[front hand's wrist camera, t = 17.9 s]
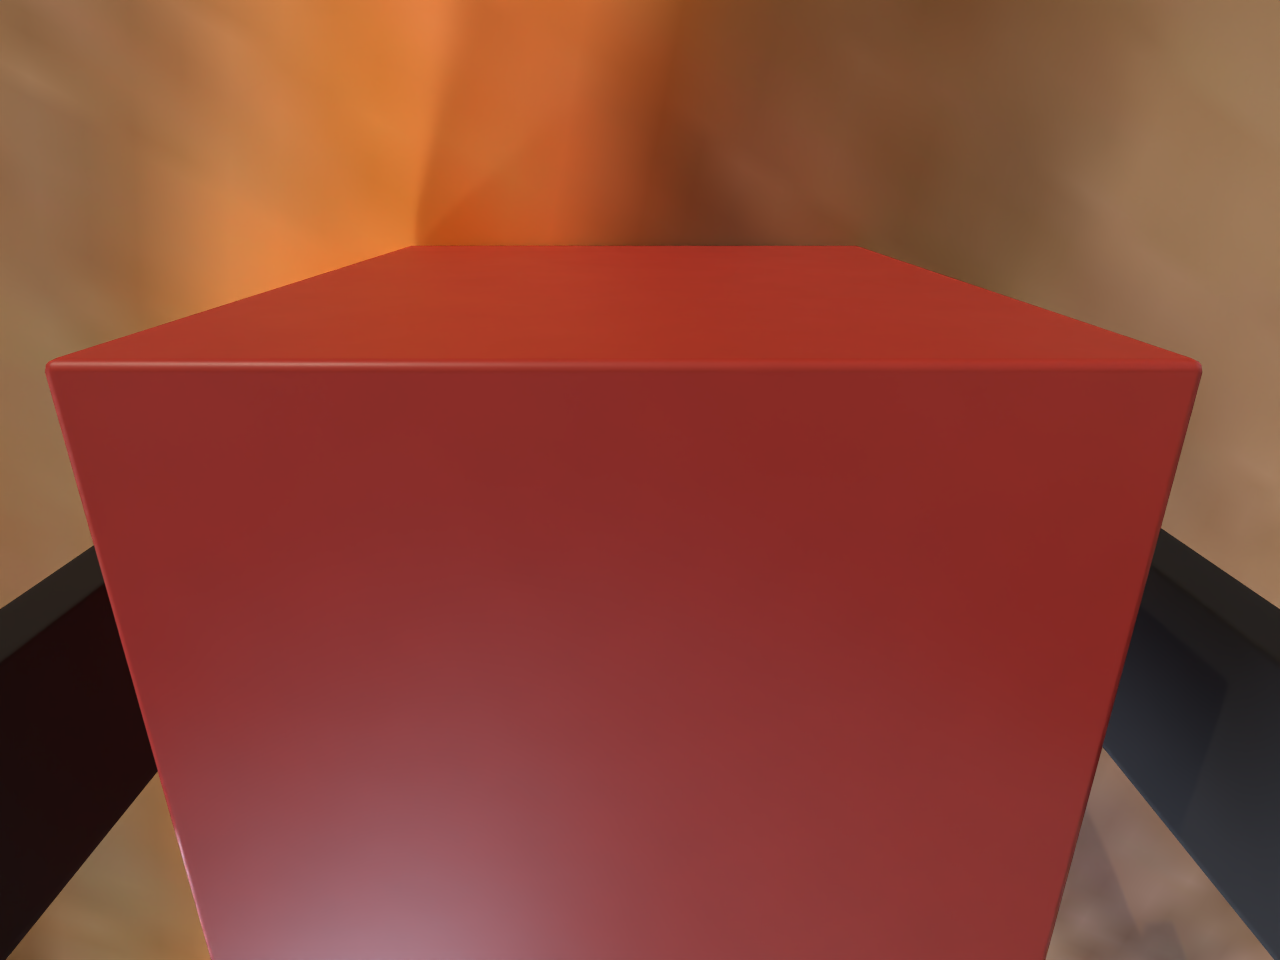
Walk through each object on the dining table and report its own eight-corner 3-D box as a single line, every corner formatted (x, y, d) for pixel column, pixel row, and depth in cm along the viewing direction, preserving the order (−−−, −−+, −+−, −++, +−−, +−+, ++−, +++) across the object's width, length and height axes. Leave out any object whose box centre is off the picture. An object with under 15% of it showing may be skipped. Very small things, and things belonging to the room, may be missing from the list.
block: (859, 245, 15) (1212, 360, 6) (821, 639, 18) (1006, 1119, 9) (407, 245, 15) (35, 360, 6) (448, 639, 18) (251, 1119, 9)
